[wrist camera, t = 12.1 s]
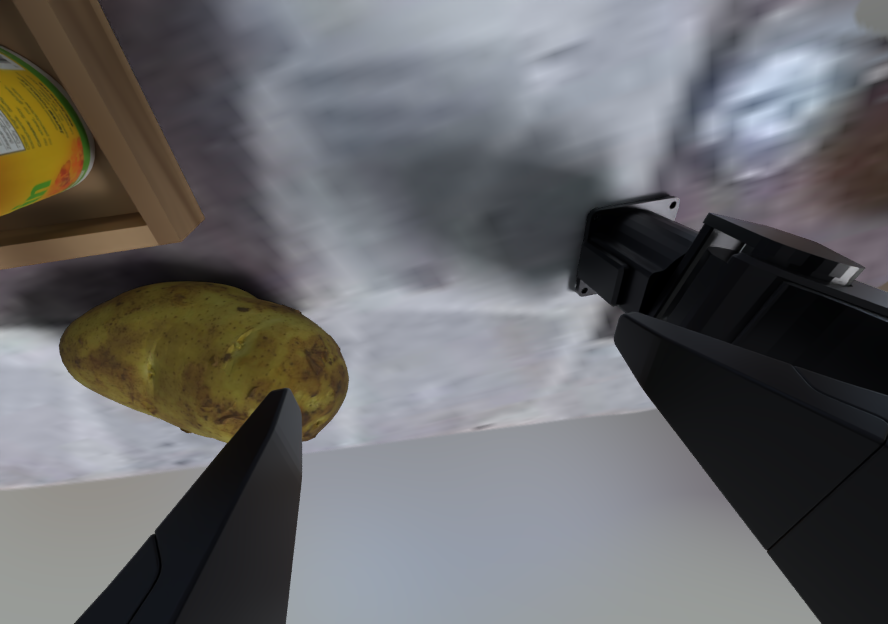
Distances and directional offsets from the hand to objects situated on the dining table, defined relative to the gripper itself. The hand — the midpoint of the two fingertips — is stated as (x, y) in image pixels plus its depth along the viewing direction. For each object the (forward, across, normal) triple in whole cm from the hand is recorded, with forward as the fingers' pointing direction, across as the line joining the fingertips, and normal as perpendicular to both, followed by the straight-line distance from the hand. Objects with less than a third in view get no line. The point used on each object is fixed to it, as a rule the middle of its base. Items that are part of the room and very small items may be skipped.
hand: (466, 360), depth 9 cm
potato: (+13, +11, +5) cm, 18 cm away
